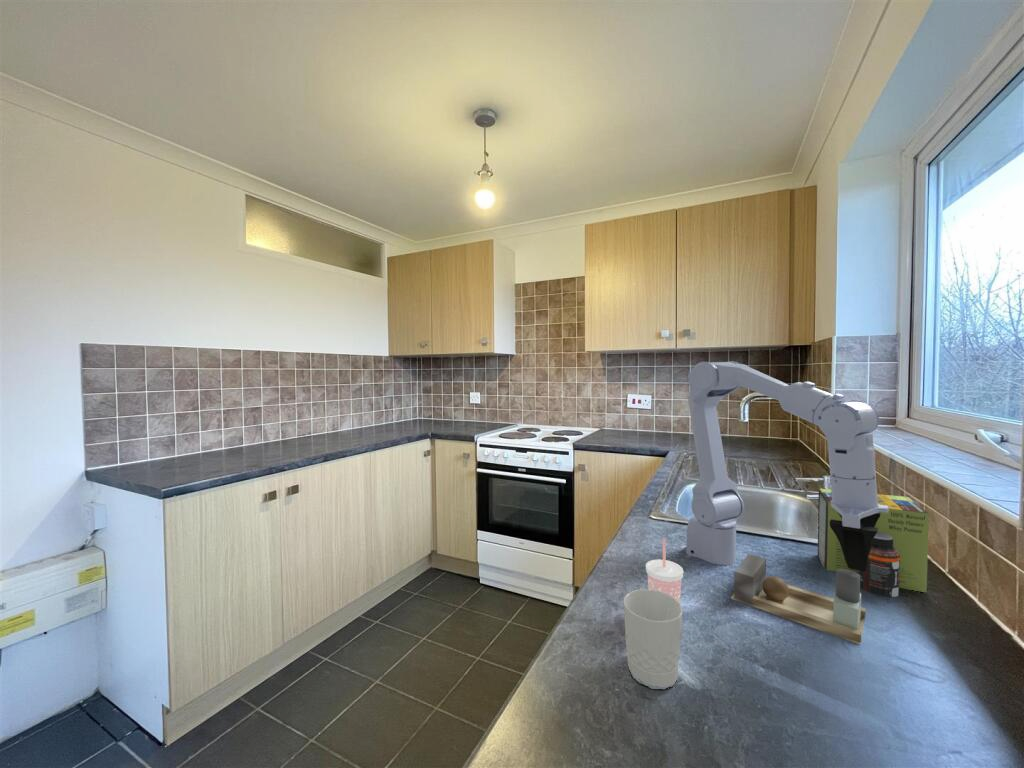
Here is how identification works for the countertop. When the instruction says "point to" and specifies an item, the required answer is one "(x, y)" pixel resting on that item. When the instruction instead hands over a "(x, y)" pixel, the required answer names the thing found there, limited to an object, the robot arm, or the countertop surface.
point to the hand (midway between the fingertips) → (859, 561)
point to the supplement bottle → (882, 568)
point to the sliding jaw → (847, 599)
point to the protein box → (899, 522)
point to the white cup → (653, 636)
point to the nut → (775, 589)
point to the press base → (790, 601)
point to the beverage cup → (665, 576)
